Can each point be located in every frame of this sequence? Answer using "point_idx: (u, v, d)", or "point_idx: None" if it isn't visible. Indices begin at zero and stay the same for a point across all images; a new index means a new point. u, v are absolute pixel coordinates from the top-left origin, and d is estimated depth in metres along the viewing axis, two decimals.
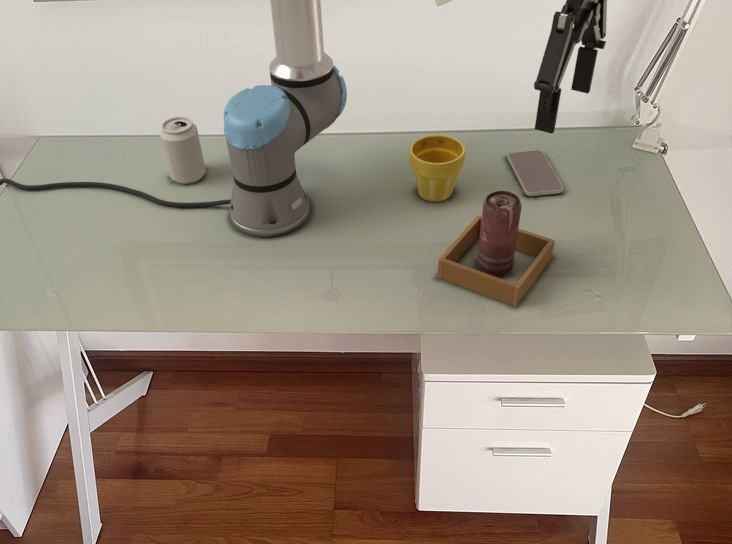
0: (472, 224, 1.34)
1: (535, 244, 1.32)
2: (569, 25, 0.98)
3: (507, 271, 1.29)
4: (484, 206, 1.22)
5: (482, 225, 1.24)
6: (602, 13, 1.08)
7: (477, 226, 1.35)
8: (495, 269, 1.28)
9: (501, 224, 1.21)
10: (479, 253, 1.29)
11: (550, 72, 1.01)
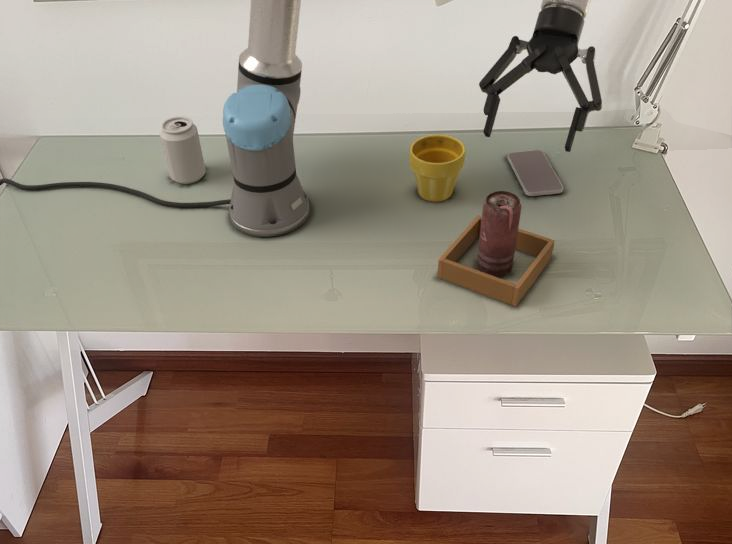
0: (472, 224, 1.34)
1: (535, 244, 1.32)
2: (510, 42, 1.26)
3: (507, 271, 1.29)
4: (484, 206, 1.22)
5: (482, 225, 1.24)
6: (588, 74, 1.22)
7: (477, 226, 1.35)
8: (495, 269, 1.28)
9: (501, 224, 1.21)
10: (479, 253, 1.29)
11: None
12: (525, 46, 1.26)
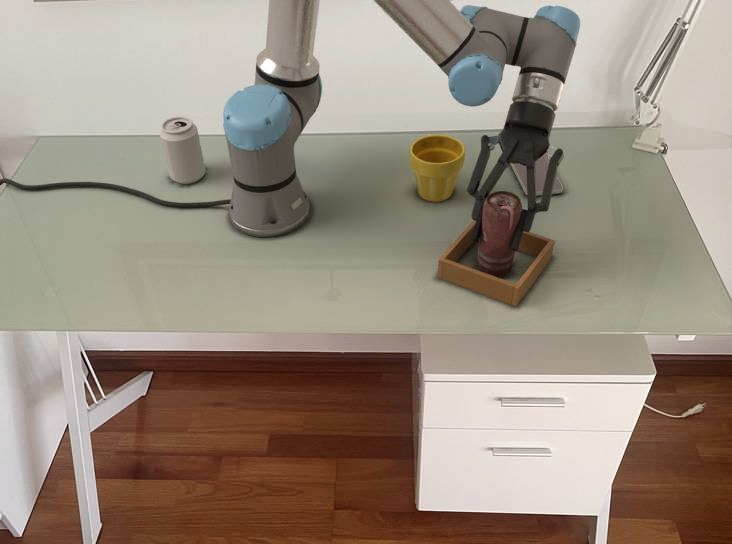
0: (472, 224, 1.34)
1: (535, 244, 1.32)
2: (481, 142, 1.25)
3: (507, 271, 1.29)
4: (485, 206, 1.22)
5: (482, 225, 1.24)
6: (546, 174, 1.21)
7: None
8: (495, 269, 1.28)
9: (502, 224, 1.21)
10: (479, 253, 1.29)
11: None
12: (497, 141, 1.25)
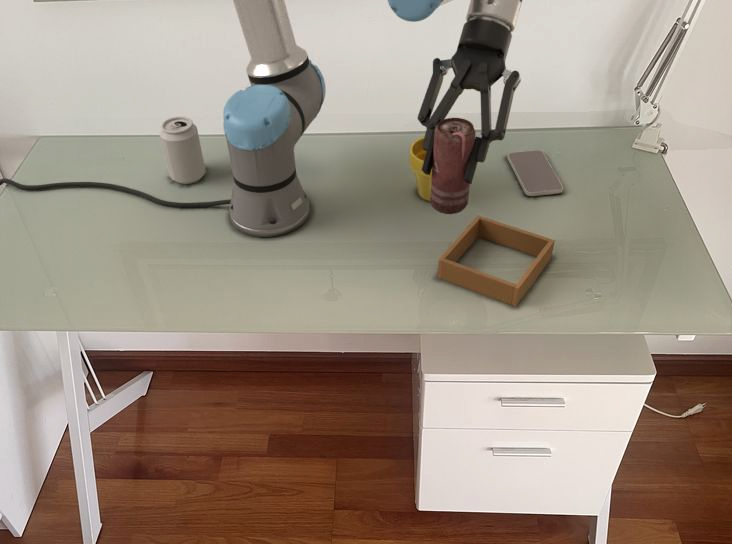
0: (472, 224, 1.34)
1: (535, 244, 1.32)
2: (433, 66, 1.16)
3: (461, 207, 1.20)
4: (436, 133, 1.13)
5: (434, 155, 1.16)
6: (501, 99, 1.13)
7: (477, 226, 1.35)
8: (449, 204, 1.19)
9: (453, 152, 1.13)
10: (432, 187, 1.20)
11: None
12: (449, 64, 1.16)
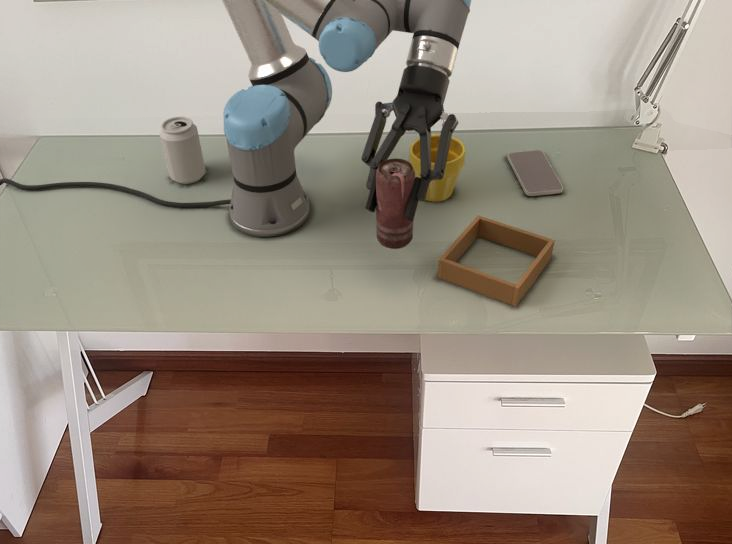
0: (472, 224, 1.34)
1: (535, 244, 1.32)
2: (375, 109, 1.22)
3: (406, 242, 1.26)
4: (377, 173, 1.19)
5: (376, 194, 1.21)
6: (439, 141, 1.18)
7: (477, 226, 1.35)
8: (393, 240, 1.25)
9: (393, 192, 1.18)
10: (377, 223, 1.25)
11: None
12: (391, 107, 1.21)
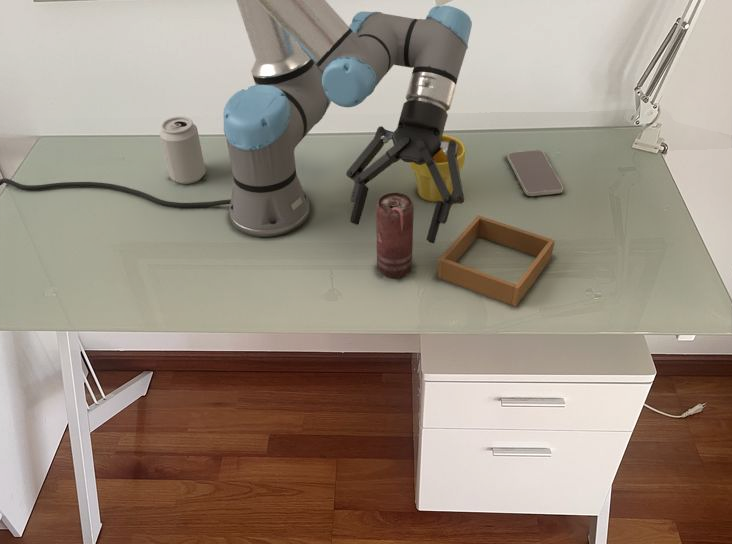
0: (472, 224, 1.34)
1: (535, 244, 1.32)
2: (376, 132, 1.26)
3: (405, 272, 1.30)
4: (377, 207, 1.23)
5: (377, 226, 1.26)
6: (449, 168, 1.22)
7: (477, 226, 1.35)
8: (393, 270, 1.29)
9: (393, 226, 1.23)
10: (377, 254, 1.30)
11: None
12: (391, 136, 1.26)
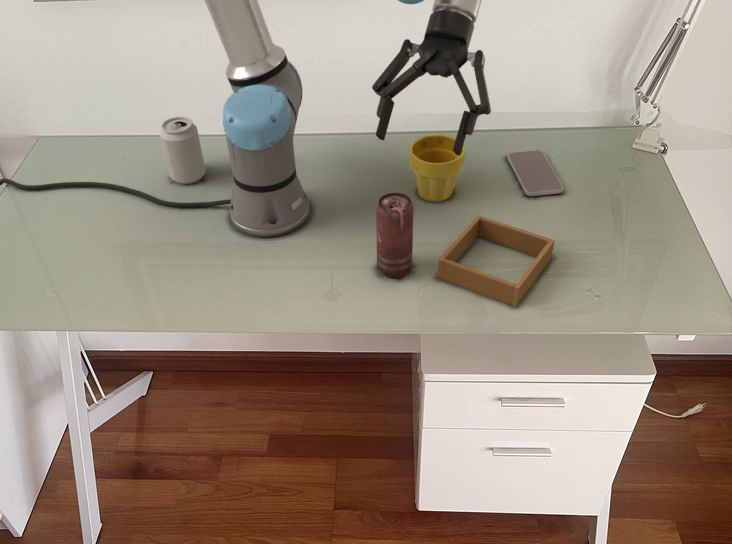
0: (472, 224, 1.34)
1: (535, 244, 1.32)
2: None
3: (405, 272, 1.30)
4: (377, 207, 1.23)
5: (377, 226, 1.26)
6: (476, 78, 1.22)
7: (477, 226, 1.35)
8: (393, 270, 1.29)
9: (393, 226, 1.23)
10: (377, 254, 1.30)
11: None
12: (417, 49, 1.26)
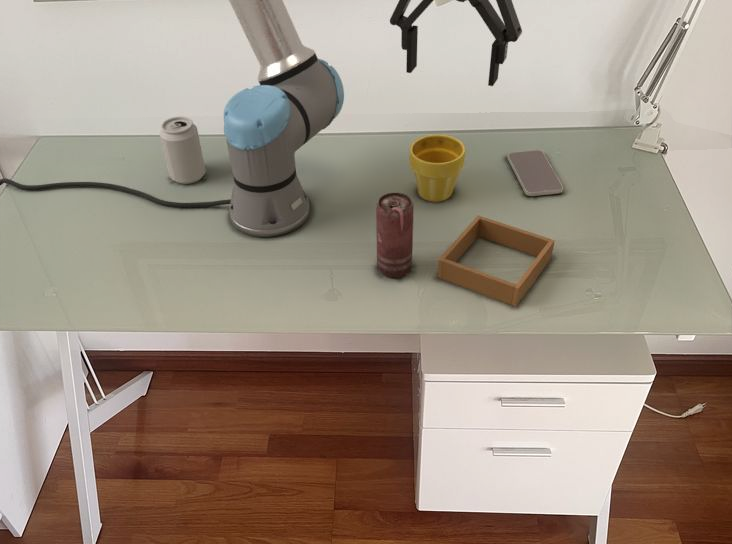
0: (472, 224, 1.34)
1: (535, 244, 1.32)
2: None
3: (405, 272, 1.30)
4: (377, 207, 1.23)
5: (377, 226, 1.26)
6: (498, 6, 1.09)
7: (477, 226, 1.35)
8: (393, 270, 1.29)
9: (393, 226, 1.23)
10: (377, 254, 1.30)
11: None
12: None
